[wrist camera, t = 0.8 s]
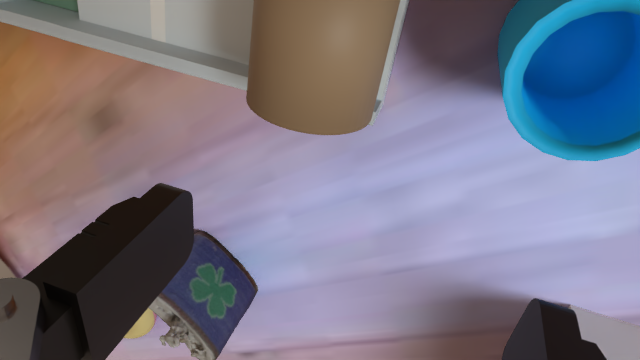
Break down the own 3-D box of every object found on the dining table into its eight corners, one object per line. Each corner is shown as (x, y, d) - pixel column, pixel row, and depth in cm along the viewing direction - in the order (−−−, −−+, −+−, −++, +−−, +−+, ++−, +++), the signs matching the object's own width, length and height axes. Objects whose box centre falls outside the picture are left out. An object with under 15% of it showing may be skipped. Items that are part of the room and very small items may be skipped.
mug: (585, 125, 30) (615, 187, 23) (472, 72, 30) (470, 117, 24) (742, -66, 23) (849, -58, 17) (595, -132, 24) (640, -150, 17)
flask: (188, 235, 46) (120, 311, 37) (206, 224, 45) (139, 301, 36) (247, 298, 49) (195, 384, 40) (265, 289, 47) (216, 377, 38)
